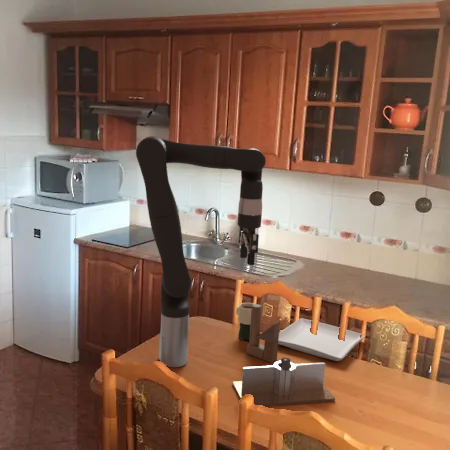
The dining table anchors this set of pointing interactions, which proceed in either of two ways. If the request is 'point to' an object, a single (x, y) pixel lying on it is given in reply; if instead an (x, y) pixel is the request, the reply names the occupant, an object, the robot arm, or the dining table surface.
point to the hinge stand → (284, 384)
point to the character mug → (244, 320)
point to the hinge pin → (285, 363)
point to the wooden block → (262, 337)
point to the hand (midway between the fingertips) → (246, 261)
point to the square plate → (318, 340)
